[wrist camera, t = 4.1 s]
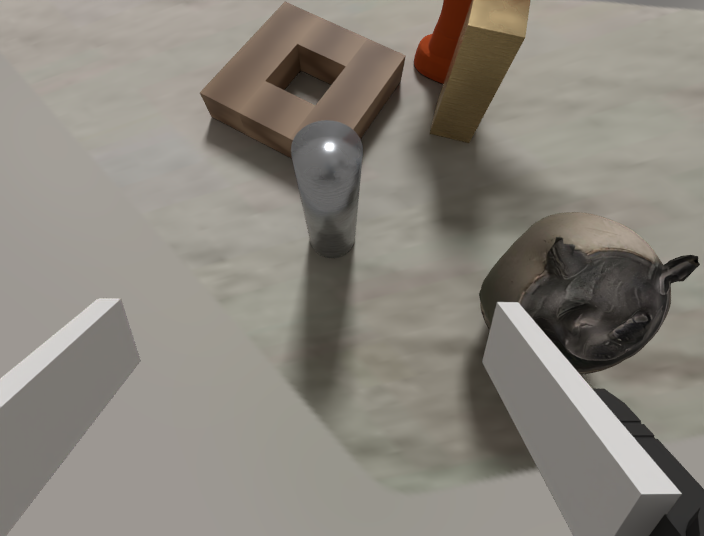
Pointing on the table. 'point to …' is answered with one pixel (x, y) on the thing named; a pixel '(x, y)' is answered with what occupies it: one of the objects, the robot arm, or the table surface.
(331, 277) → the table surface
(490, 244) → the table surface
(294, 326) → the table surface
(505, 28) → the light brown rectangular block
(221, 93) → the socket block
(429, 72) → the toy drill
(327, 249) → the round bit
